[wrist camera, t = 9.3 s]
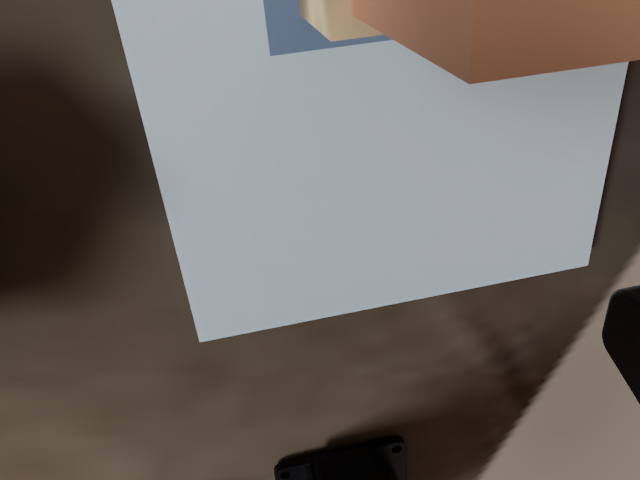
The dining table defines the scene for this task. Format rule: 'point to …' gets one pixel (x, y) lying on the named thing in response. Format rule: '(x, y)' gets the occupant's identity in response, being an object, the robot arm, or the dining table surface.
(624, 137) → the dining table surface
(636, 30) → the terracotta block
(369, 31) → the birch base block
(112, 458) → the dining table surface
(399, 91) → the blueprint board
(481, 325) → the dining table surface
